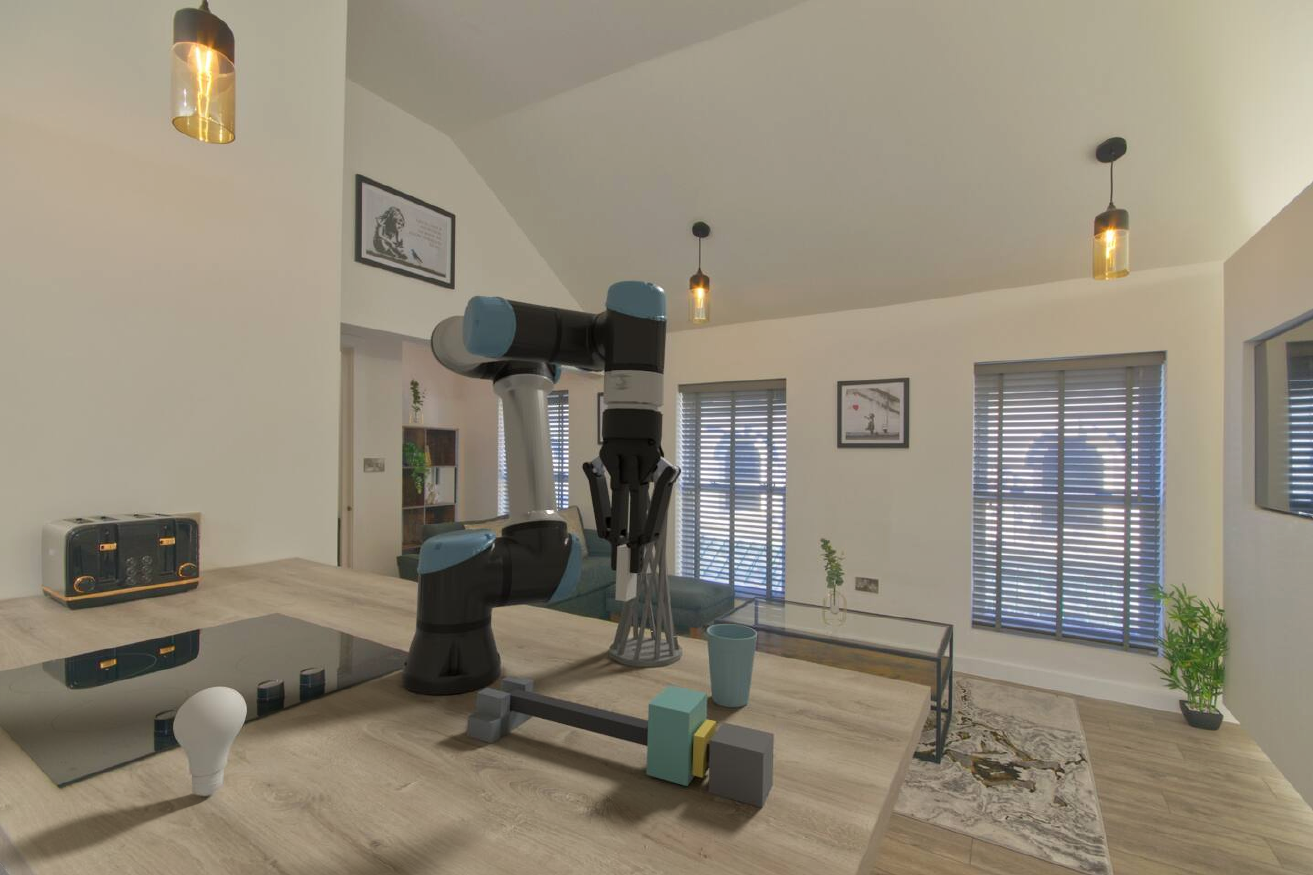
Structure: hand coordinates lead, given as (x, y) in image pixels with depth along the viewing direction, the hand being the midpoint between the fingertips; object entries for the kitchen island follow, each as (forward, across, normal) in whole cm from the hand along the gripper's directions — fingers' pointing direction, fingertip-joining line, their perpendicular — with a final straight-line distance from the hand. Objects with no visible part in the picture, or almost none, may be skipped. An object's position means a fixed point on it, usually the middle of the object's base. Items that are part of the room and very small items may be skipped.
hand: (625, 597), depth 71 cm
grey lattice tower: (+20, -12, +34) cm, 41 cm away
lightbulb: (+20, -34, -27) cm, 48 cm away
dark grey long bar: (+18, 0, 0) cm, 18 cm away
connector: (+19, +16, 0) cm, 25 cm away
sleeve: (+19, +8, 0) cm, 21 cm away
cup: (+20, +8, +22) cm, 30 cm away
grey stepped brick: (+19, -18, 0) cm, 26 cm away
